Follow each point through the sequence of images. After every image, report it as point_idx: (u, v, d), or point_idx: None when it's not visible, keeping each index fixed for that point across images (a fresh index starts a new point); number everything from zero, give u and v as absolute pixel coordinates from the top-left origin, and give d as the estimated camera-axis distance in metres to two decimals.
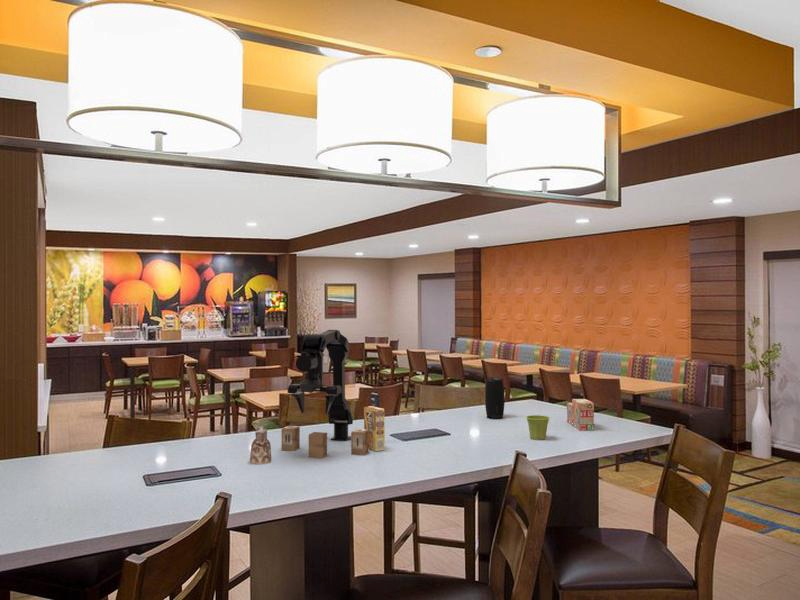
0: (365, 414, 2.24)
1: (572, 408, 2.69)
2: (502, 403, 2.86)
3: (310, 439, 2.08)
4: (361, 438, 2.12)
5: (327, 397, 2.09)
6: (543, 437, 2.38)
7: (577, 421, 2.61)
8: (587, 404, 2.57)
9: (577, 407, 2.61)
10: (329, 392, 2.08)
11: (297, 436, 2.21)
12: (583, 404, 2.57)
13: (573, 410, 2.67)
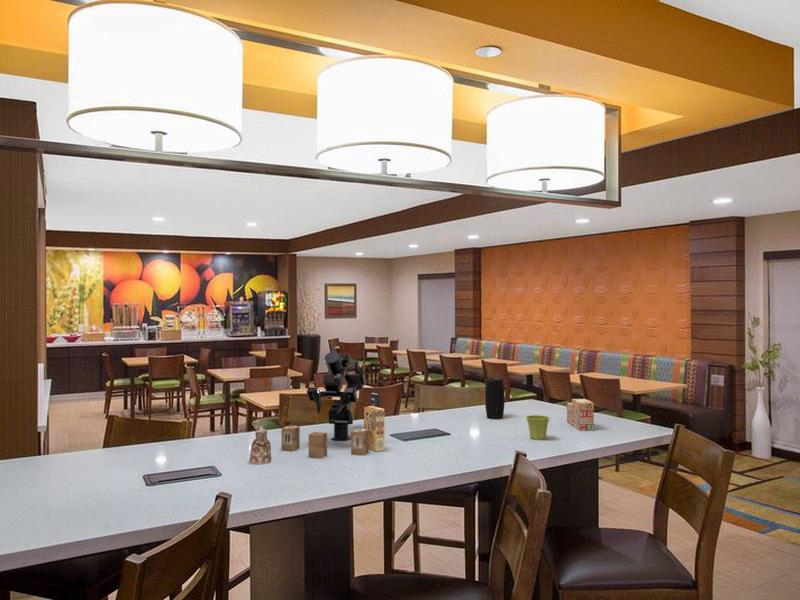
0: (365, 414, 2.24)
1: (572, 408, 2.69)
2: (502, 403, 2.86)
3: (310, 439, 2.08)
4: (361, 438, 2.12)
5: (342, 395, 2.24)
6: (543, 437, 2.38)
7: (577, 421, 2.61)
8: (587, 404, 2.57)
9: (577, 407, 2.61)
10: (347, 390, 2.24)
11: (297, 436, 2.21)
12: (583, 404, 2.57)
13: (573, 410, 2.67)
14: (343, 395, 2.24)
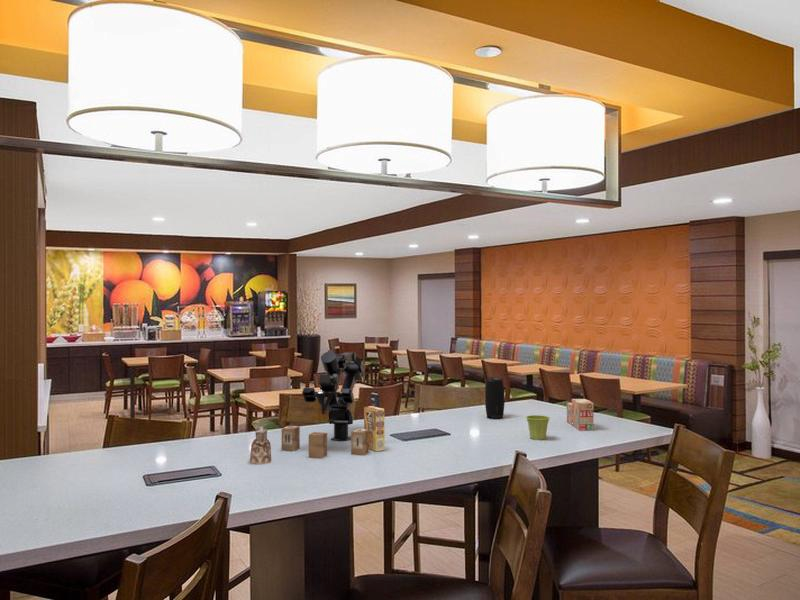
0: (365, 414, 2.24)
1: (572, 408, 2.69)
2: (502, 403, 2.86)
3: (310, 439, 2.08)
4: (361, 438, 2.12)
5: (329, 396, 2.19)
6: (543, 437, 2.38)
7: (577, 421, 2.61)
8: (587, 404, 2.57)
9: (577, 407, 2.61)
10: (344, 391, 2.19)
11: (297, 436, 2.21)
12: (583, 404, 2.57)
13: (573, 410, 2.67)
14: (330, 395, 2.19)
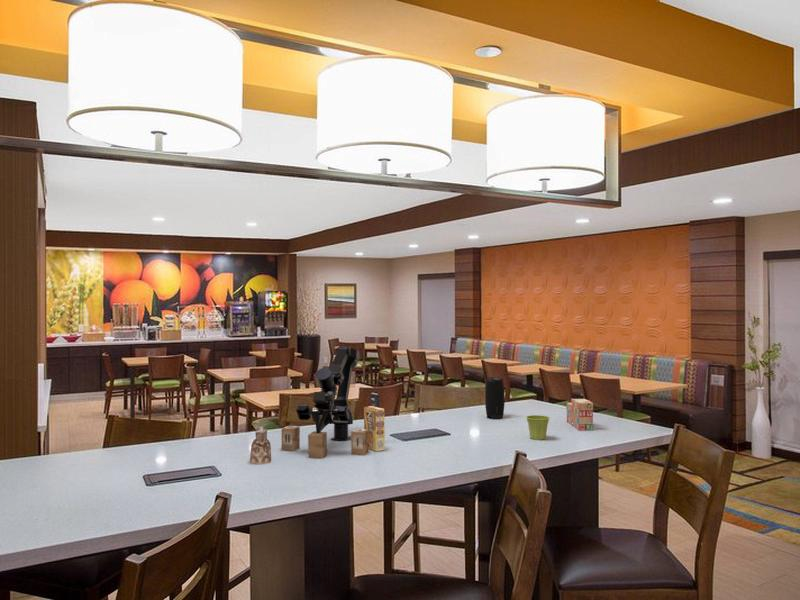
0: (365, 414, 2.24)
1: (571, 408, 2.69)
2: (502, 403, 2.86)
3: (310, 439, 2.08)
4: (361, 438, 2.12)
5: (323, 414, 2.13)
6: (543, 437, 2.38)
7: (576, 421, 2.61)
8: (586, 404, 2.58)
9: (576, 407, 2.61)
10: (339, 409, 2.13)
11: (297, 436, 2.21)
12: (582, 404, 2.58)
13: (572, 410, 2.68)
14: (325, 413, 2.13)
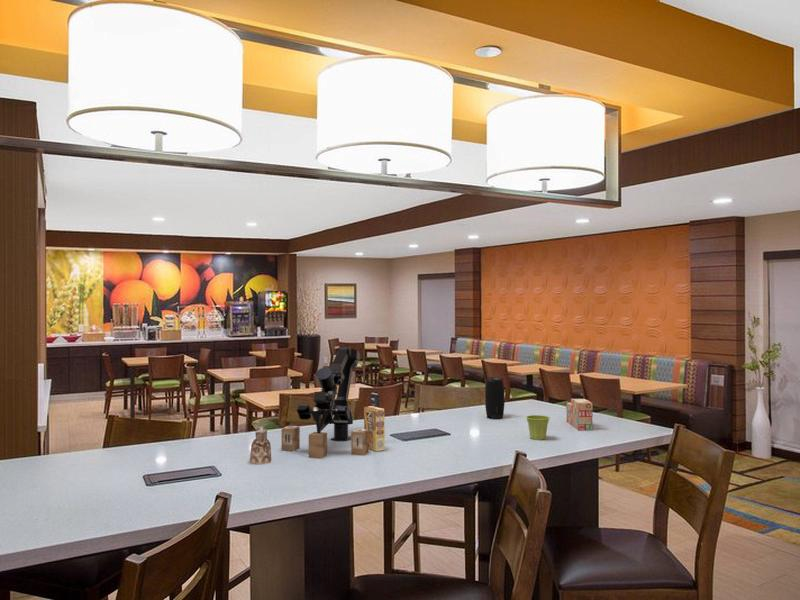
0: (365, 414, 2.24)
1: (571, 408, 2.69)
2: (502, 403, 2.86)
3: (310, 439, 2.08)
4: (361, 438, 2.12)
5: (324, 413, 2.13)
6: (543, 437, 2.38)
7: (576, 421, 2.61)
8: (586, 404, 2.58)
9: (576, 407, 2.61)
10: (339, 408, 2.13)
11: (297, 436, 2.21)
12: (582, 404, 2.58)
13: (572, 410, 2.68)
14: (325, 413, 2.13)
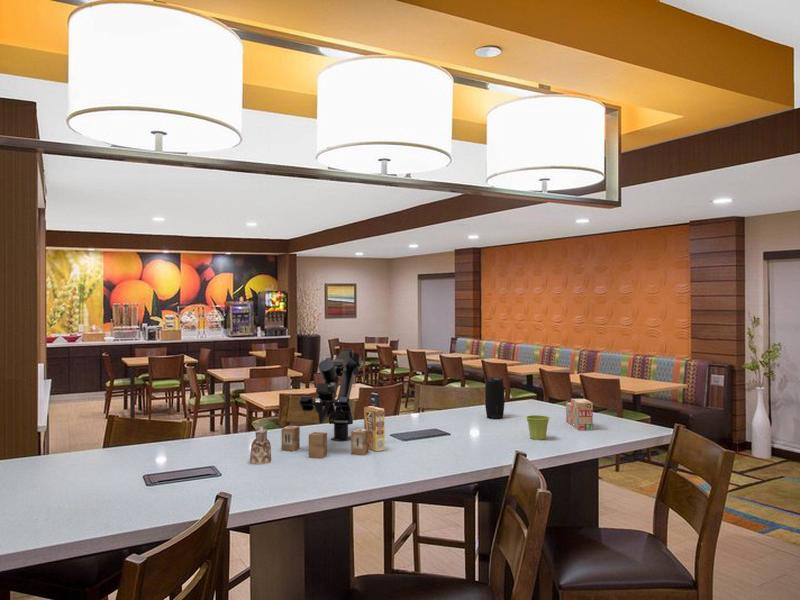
0: (365, 414, 2.24)
1: (571, 408, 2.70)
2: (502, 403, 2.86)
3: (310, 439, 2.08)
4: (361, 438, 2.12)
5: (326, 404, 2.16)
6: (543, 437, 2.38)
7: (576, 421, 2.61)
8: (586, 404, 2.58)
9: (576, 407, 2.61)
10: (341, 400, 2.16)
11: (297, 436, 2.21)
12: (582, 404, 2.58)
13: (572, 410, 2.68)
14: (328, 404, 2.16)
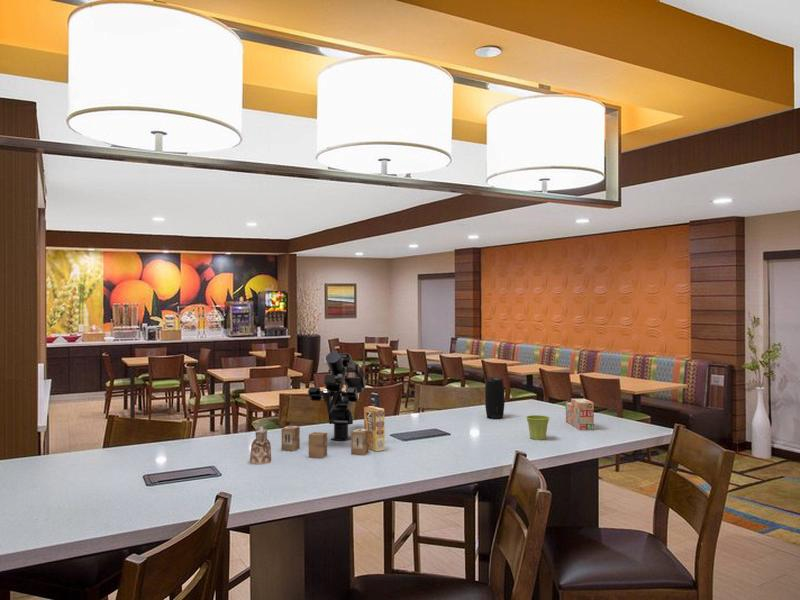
0: (365, 414, 2.24)
1: (571, 408, 2.70)
2: (502, 403, 2.86)
3: (310, 439, 2.08)
4: (361, 438, 2.12)
5: (334, 395, 2.26)
6: (543, 437, 2.38)
7: (577, 421, 2.61)
8: (587, 404, 2.58)
9: (577, 407, 2.61)
10: (348, 390, 2.26)
11: (297, 436, 2.21)
12: (583, 404, 2.58)
13: (572, 410, 2.68)
14: (335, 395, 2.26)
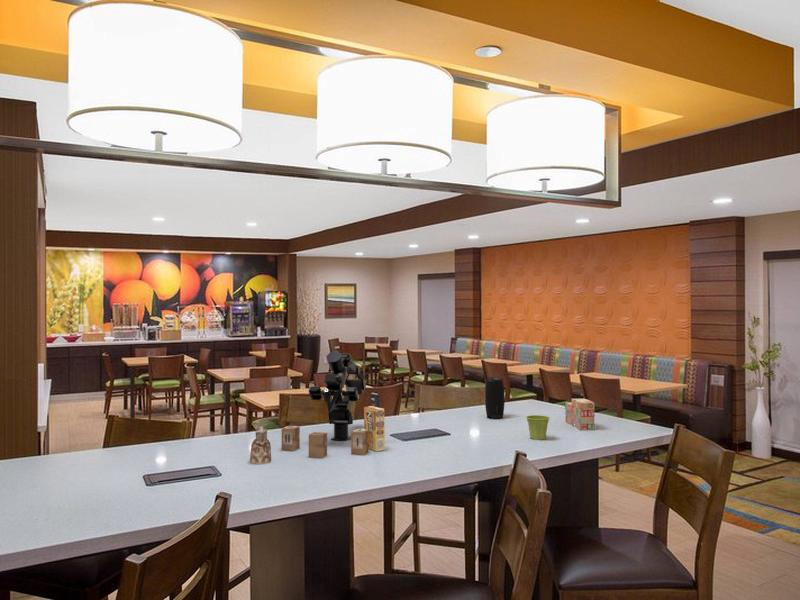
0: (365, 414, 2.24)
1: (571, 408, 2.70)
2: (502, 403, 2.86)
3: (310, 439, 2.08)
4: (361, 438, 2.12)
5: (334, 394, 2.26)
6: (543, 437, 2.38)
7: (577, 421, 2.62)
8: (588, 404, 2.58)
9: (578, 407, 2.62)
10: (349, 389, 2.26)
11: (297, 436, 2.21)
12: (584, 404, 2.58)
13: (573, 410, 2.68)
14: (336, 394, 2.26)
